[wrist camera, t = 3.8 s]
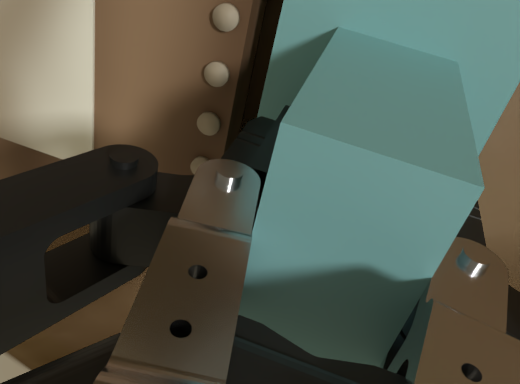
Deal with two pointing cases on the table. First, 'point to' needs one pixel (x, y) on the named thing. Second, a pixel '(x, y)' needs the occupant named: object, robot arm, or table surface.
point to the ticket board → (124, 78)
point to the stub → (372, 161)
